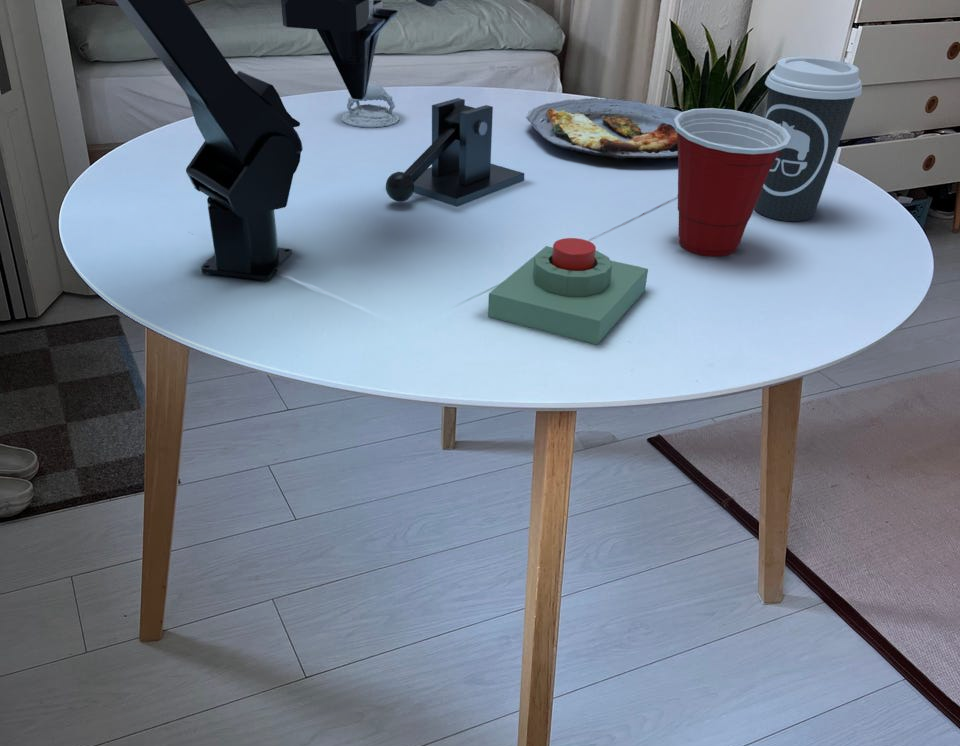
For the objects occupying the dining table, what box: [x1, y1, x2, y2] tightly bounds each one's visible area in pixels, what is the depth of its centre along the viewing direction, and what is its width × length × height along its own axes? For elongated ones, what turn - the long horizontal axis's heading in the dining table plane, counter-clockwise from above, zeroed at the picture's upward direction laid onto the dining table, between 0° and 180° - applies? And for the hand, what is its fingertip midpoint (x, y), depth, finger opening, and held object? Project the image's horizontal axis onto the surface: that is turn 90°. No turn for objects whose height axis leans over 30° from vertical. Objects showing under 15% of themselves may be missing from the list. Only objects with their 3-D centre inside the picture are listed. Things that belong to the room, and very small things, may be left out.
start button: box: [552, 237, 597, 271], centre depth 78 cm, size 4×4×2 cm
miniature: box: [341, 80, 400, 128], centre depth 124 cm, size 8×8×5 cm
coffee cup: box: [754, 56, 863, 222], centre depth 97 cm, size 10×10×15 cm
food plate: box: [525, 97, 682, 160], centre depth 119 cm, size 25×23×4 cm
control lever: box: [385, 104, 475, 203], centre depth 98 cm, size 14×3×3 cm, turn 141°
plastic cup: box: [674, 107, 791, 258], centre depth 88 cm, size 11×11×12 cm
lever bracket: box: [413, 97, 525, 207], centre depth 101 cm, size 12×9×9 cm
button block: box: [487, 245, 649, 346], centre depth 79 cm, size 12×10×4 cm
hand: (358, 98), depth 84 cm, fingers closed
